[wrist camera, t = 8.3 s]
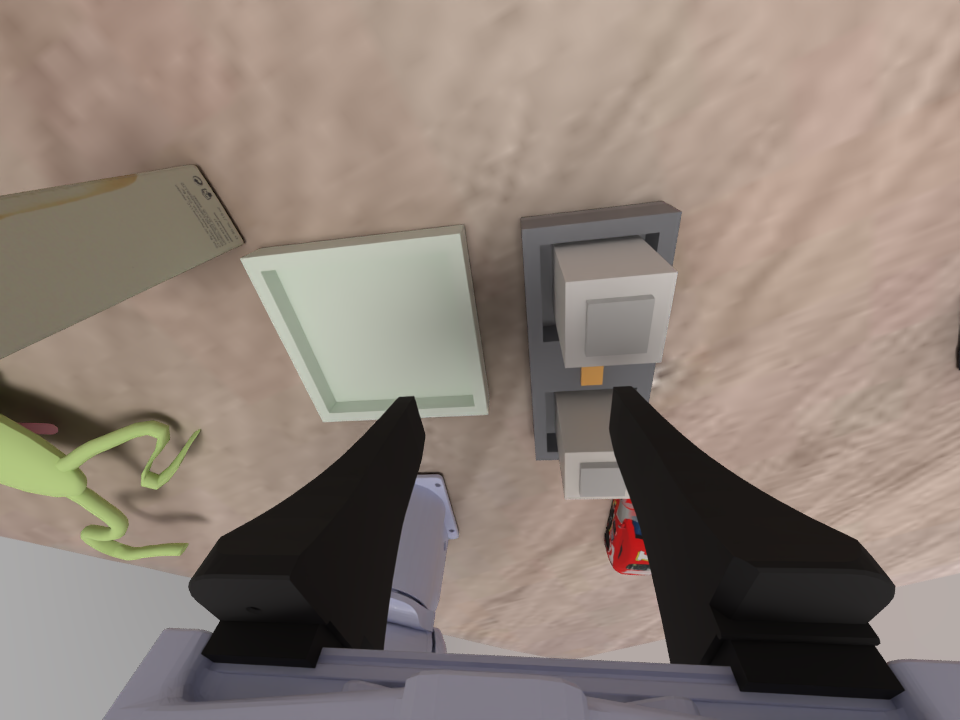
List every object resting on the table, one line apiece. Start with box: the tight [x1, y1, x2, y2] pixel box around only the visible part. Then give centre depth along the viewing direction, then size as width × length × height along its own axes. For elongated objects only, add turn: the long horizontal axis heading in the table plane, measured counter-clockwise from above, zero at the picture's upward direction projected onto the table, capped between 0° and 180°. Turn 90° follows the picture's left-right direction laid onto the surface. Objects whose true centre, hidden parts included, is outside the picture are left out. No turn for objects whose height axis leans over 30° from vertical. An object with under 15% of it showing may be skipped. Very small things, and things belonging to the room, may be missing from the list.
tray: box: [240, 224, 490, 422], centre depth 22 cm, size 12×12×2 cm
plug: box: [551, 235, 678, 368], centre depth 17 cm, size 4×4×6 cm
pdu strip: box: [521, 201, 682, 460], centre depth 21 cm, size 16×7×3 cm, turn 7°
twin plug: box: [554, 389, 630, 499], centre depth 22 cm, size 4×4×6 cm
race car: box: [605, 499, 652, 575], centre depth 30 cm, size 13×5×4 cm, turn 2°
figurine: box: [0, 414, 200, 560], centre depth 30 cm, size 18×27×6 cm
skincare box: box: [0, 165, 244, 359], centre depth 15 cm, size 6×4×12 cm
